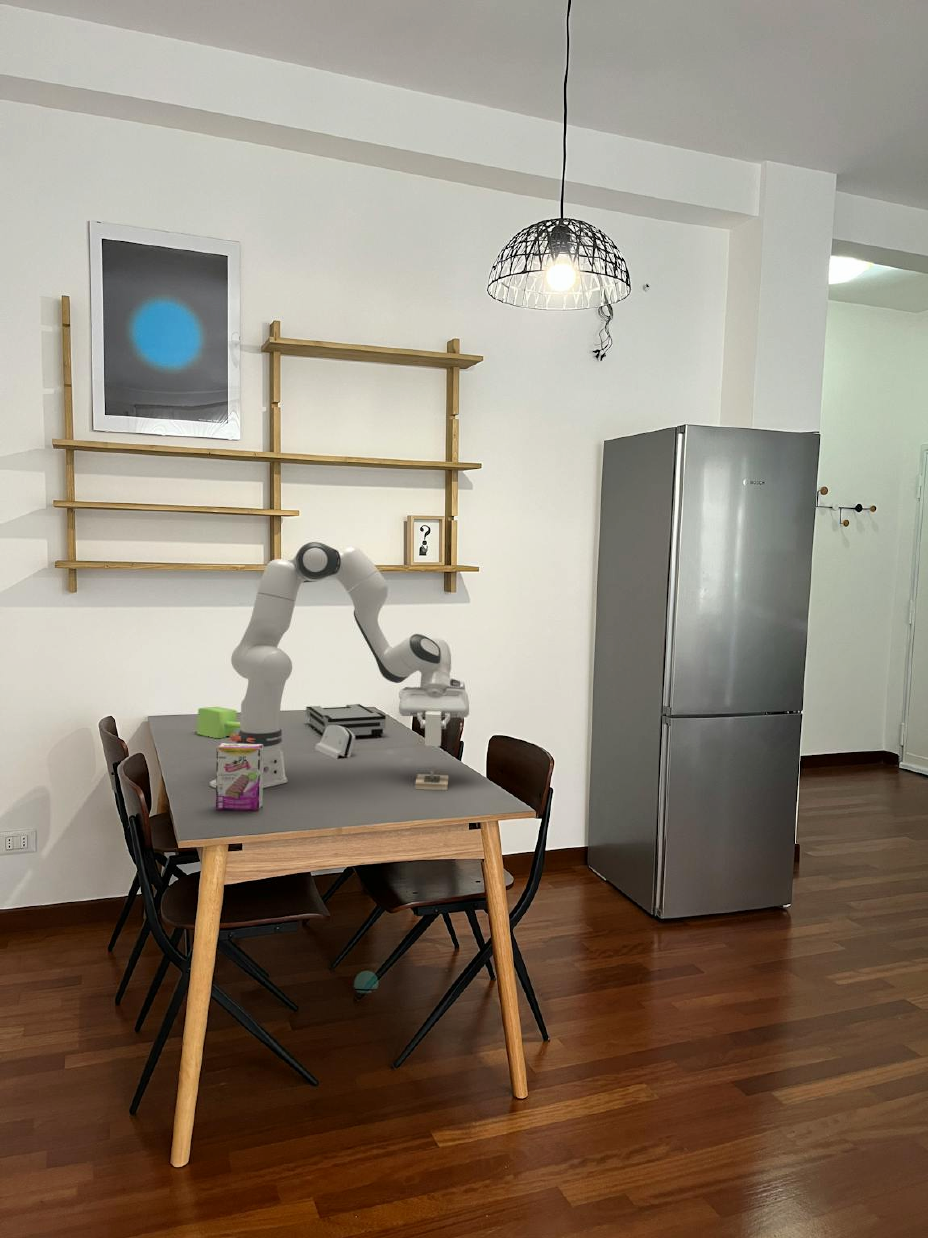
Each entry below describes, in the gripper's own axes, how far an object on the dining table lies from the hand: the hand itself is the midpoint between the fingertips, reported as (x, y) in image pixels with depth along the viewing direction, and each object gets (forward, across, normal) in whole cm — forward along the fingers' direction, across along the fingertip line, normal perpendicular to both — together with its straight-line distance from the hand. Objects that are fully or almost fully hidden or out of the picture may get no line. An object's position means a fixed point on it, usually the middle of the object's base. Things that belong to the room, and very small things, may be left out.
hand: (433, 727), depth 264 cm
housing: (+3, 0, +4) cm, 5 cm away
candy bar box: (+31, -48, -8) cm, 58 cm away
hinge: (-15, -33, +39) cm, 53 cm away
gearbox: (-31, -77, +55) cm, 100 cm away
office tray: (-40, -35, +64) cm, 83 cm away
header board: (+11, 0, +12) cm, 17 cm away
